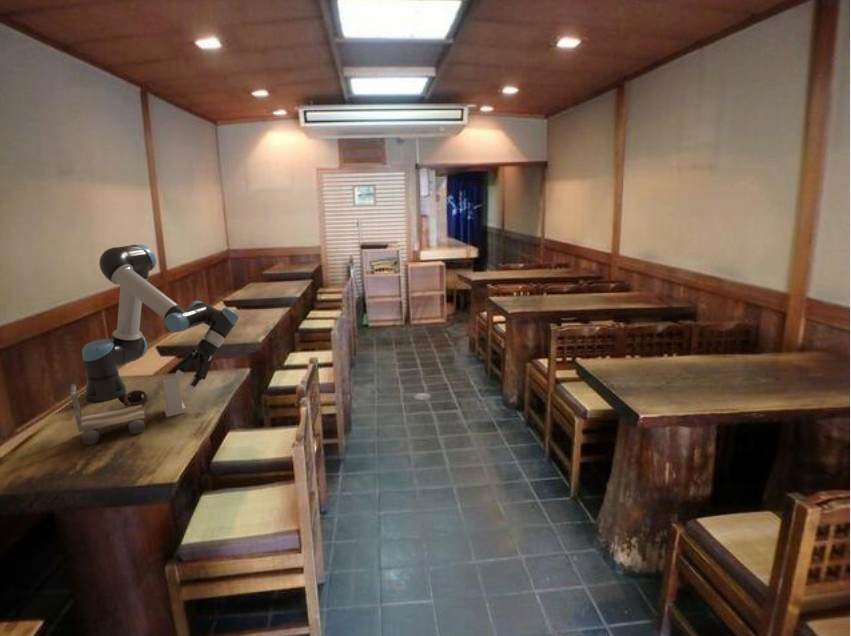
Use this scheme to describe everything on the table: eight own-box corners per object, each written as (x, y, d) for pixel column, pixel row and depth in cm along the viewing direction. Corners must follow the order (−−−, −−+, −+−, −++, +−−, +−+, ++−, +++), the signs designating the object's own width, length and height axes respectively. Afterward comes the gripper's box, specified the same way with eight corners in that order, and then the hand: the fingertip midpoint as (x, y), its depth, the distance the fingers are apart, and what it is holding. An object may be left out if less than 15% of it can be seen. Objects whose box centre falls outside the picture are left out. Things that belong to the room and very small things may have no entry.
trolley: (80, 433, 188) (70, 383, 183) (143, 419, 198) (135, 371, 194) (80, 447, 177) (69, 393, 173) (147, 431, 188) (138, 380, 183)
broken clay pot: (154, 402, 216) (152, 389, 211) (143, 420, 209) (141, 408, 203) (124, 397, 215) (121, 384, 209) (112, 415, 207) (109, 402, 202)
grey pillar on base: (164, 411, 206) (158, 377, 202) (183, 406, 209) (178, 373, 206) (166, 417, 200) (161, 382, 197) (186, 412, 204) (181, 378, 200)
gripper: (233, 353, 205) (201, 400, 198) (203, 342, 221) (173, 386, 214) (218, 343, 200) (185, 392, 193) (189, 333, 216) (157, 378, 209)
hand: (178, 389), depth 203 cm, fingers open, 13 cm apart
